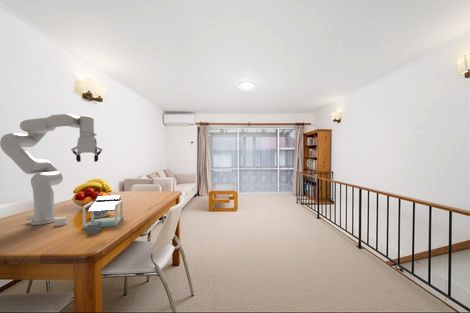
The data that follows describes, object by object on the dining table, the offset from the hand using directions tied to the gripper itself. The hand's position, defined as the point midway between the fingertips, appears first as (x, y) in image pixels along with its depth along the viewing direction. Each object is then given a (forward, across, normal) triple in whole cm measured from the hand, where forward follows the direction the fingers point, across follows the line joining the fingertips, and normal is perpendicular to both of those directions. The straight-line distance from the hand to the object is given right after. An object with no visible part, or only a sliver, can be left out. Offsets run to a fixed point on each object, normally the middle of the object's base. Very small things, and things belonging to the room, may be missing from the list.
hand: (87, 161), depth 132 cm
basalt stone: (+36, -12, +27) cm, 46 cm away
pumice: (+38, +13, +4) cm, 41 cm away
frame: (+38, -12, +9) cm, 41 cm away
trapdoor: (+29, -12, +5) cm, 32 cm away
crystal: (+39, -4, -9) cm, 40 cm away
